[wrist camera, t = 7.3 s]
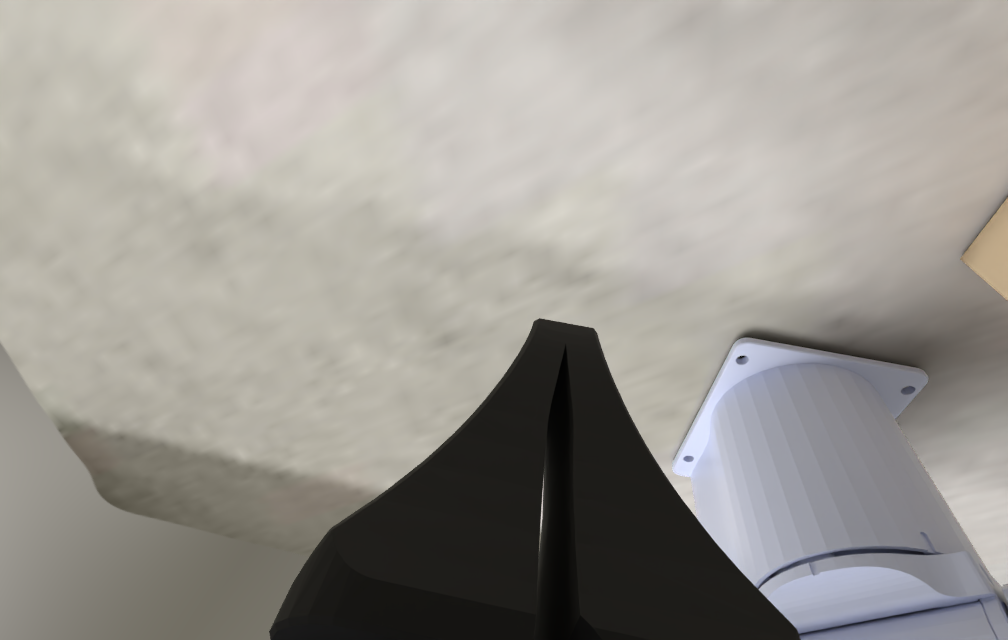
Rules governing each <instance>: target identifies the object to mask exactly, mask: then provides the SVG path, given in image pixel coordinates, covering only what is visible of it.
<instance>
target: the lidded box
mask: <svg viewBox="0 0 1008 640" xmlns="http://www.w3.org/2000/svg"><path fill="white" fill-rule="evenodd" d="M960 260H962V261H963V262H964V263H965V264H966V265H967V266H968V267H970V268H971V269H972V270H973V271H974V272H975V273H976V274H978V275H979V276H980V277H981V278H982V279H983V280H984V281H986V282H987V283H988V284H989V285H990V286H991V287H992V288H994V289H995V290H996V291H997V292H998V293H999V294H1000V295H1002V296H1003V297H1004V298H1005V299H1006V300H1007V301H1008V198H1007V199H1006V200H1005V202H1004V203H1003V204H1002V205H1001V207H1000V208H999V209H998V211H997V212H996V213H995V214H994V216H993V217H992V218H991V220H990V221H989V222H988V223H987V225H986V226H985V227H984V229H983V230H982V231H981V232H980V234H979V235H978V236H977V238H976V239H975V240H974V242H973V243H972V244H971V245H970V247H969V248H968V249H967V251H966V252H965V253H964V254H963V256H962V257H961V258H960Z"/></svg>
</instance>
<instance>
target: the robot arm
mask: <svg viewBox="0 0 1008 640" xmlns="http://www.w3.org/2000/svg"><path fill="white" fill-rule="evenodd" d="M739 356H745V357H744V358H742V359H737V357H739ZM928 381H929V377H928V376H927V374H926V373H925V372H924V371H923V370H922V369H920V368H915V367H910V366H904V365H899V364H893V363H887V362H882V361H876V360H871V359H865V358H860V357H854V356H849V355H843V354H838V353H832V352H826V351H821V350H815V349H810V348H804V347H799V346H793V345H788V344H782V343H777V342H771V341H765V340H760V339H754V338H741V339H739V340H737V341H736V342H735V343H734V344H733V346H732V348H731V350H730V352H729V354H728V356H727V358H726V360H725V362H724V364H723V366H722V368H721V370H720V371H719V373H718V375H717V377H716V379H715V381H714V383H713V385H712V387H711V389H710V391H709V393H708V395H707V397H706V399H705V401H704V403H703V405H702V406H701V408H700V410H699V412H698V414H697V416H696V418H695V420H694V422H693V424H692V426H691V428H690V430H689V432H688V434H687V436H686V438H685V440H684V441H683V443H682V445H681V447H680V449H679V451H678V453H677V455H676V457H675V459H674V461H673V463H672V469H673V472H674V473H675V474H677V475H681V476H686V477H691V483H692V489H693V495H694V501H695V507H696V513H697V518H696V517H695V516H694V514H693V513H692V512H691V510H690V509H689V508H688V507H687V505H686V504H685V503H684V502H683V500H682V499H681V497H680V496H679V495H678V493H677V492H676V490H675V489H674V487H673V486H672V485H671V483H670V482H669V480H668V479H667V477H666V476H665V474H664V473H663V471H662V470H661V468H660V467H659V465H658V464H657V462H656V460H655V459H654V457H653V456H652V454H651V452H650V451H649V449H648V447H647V446H646V444H645V442H644V440H643V439H642V437H641V435H640V433H639V431H638V430H637V428H636V426H635V424H634V422H633V420H632V418H631V417H630V415H629V412H628V410H627V408H626V406H625V404H624V402H623V400H622V398H621V396H620V393H619V391H618V389H617V387H616V385H615V382H614V380H613V378H612V375H611V373H610V370H609V368H608V365H607V362H606V360H605V357H604V354H603V351H602V348H601V345H600V342H599V338H598V335H597V332H596V331H595V330H594V328H589V327H584V326H578V325H573V324H567V323H562V322H556V321H551V320H545V319H540V318H539V319H538V320H536V321H534V322H533V326H532V329H531V331H530V334H529V336H528V338H527V340H526V342H525V344H524V345H523V347H522V349H521V351H520V352H519V354H518V356H517V357H516V359H515V360H514V362H513V363H512V365H511V366H510V367H509V369H508V370H507V372H506V373H505V375H504V376H503V378H502V379H501V380H500V382H499V383H498V384H497V385H496V387H495V388H494V389H493V390H492V392H491V393H490V394H489V395H488V397H487V398H486V399H485V400H484V402H483V403H482V404H481V405H480V406H479V407H478V408H477V410H476V411H475V412H474V413H473V414H472V415H471V416H470V417H469V418H468V419H467V420H466V422H465V423H464V424H463V425H462V426H461V427H460V428H459V429H458V430H457V431H456V432H455V433H454V434H453V435H452V436H451V437H449V438H448V439H447V440H446V441H445V442H444V443H443V444H442V445H441V446H440V447H439V448H438V449H437V450H436V451H434V452H433V453H432V454H431V455H430V456H429V457H428V458H427V459H425V460H424V461H423V462H422V463H421V464H419V465H418V466H417V467H416V468H414V469H413V470H412V471H411V472H409V473H408V474H407V475H405V476H404V477H403V478H402V479H400V480H399V481H398V482H397V483H395V484H394V485H393V486H391V487H390V488H389V489H388V490H386V491H385V492H384V493H382V494H381V495H379V496H378V497H377V498H375V499H374V500H372V501H371V502H369V503H368V504H366V505H365V506H363V507H362V508H360V509H359V510H357V511H356V512H354V513H353V514H351V515H350V516H348V517H347V518H345V519H344V520H342V521H341V522H340V523H338V524H336V525H335V526H333V527H332V528H331V529H330V530H329V531H328V533H327V534H326V535H325V536H324V538H323V539H322V540H321V542H320V543H319V544H318V546H317V547H316V548H315V550H314V551H313V553H312V554H311V556H310V557H309V559H308V560H307V562H306V563H305V564H304V566H303V568H302V569H301V571H300V573H299V574H298V576H297V577H296V579H295V580H294V582H293V584H292V586H291V588H290V590H289V592H288V594H287V596H286V598H285V600H284V602H283V604H282V607H281V608H280V611H279V613H278V615H277V617H276V619H275V621H274V623H273V625H272V628H271V630H270V631H269V632H270V639H271V640H1008V584H1005V585H1003V587H1001V585H1000V584H999V583H998V582H997V581H996V580H995V579H994V578H993V577H992V576H991V574H990V573H989V571H988V569H987V568H986V566H985V565H984V563H983V561H982V560H981V558H980V557H979V555H978V553H977V552H976V550H975V548H974V547H973V545H972V544H971V542H970V540H969V539H968V537H967V535H966V534H965V532H964V531H963V529H962V527H961V526H960V524H959V522H958V521H957V519H956V518H955V516H954V514H953V513H952V511H951V510H950V508H949V506H948V505H947V503H946V501H945V500H944V498H943V497H942V495H941V493H940V492H939V490H938V488H937V487H936V485H935V484H934V482H933V480H932V479H931V477H930V475H929V474H928V472H927V471H926V469H925V467H924V466H923V464H922V463H921V461H920V459H919V458H918V456H917V454H916V453H915V451H914V450H913V448H912V446H911V445H910V443H909V441H908V440H907V438H906V437H905V435H904V433H903V432H902V430H901V428H900V427H899V425H898V424H897V422H896V420H895V419H896V418H897V417H898V416H899V415H900V413H901V412H902V411H903V410H904V409H905V408H906V407H907V405H908V404H909V403H910V402H911V401H912V400H913V399H914V398H915V396H916V395H917V394H918V393H919V392H920V391H921V390H922V389H923V387H924V386H925V385H926V384H927V383H928ZM907 386H908V387H907ZM904 387H906V388H904ZM543 475H544V491H543V519H542V533H541V543H540V551H539V536H540V520H541V504H542V488H543ZM538 558H539V559H538Z"/></svg>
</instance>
